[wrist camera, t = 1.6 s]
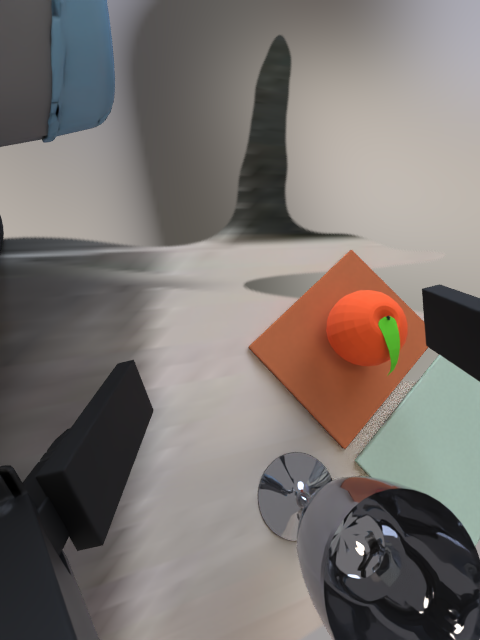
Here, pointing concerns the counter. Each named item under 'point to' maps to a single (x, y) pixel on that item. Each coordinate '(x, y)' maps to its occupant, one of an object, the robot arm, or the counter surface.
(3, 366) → the counter surface
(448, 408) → the glass mat
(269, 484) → the wine glass
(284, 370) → the fruit mat
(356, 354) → the clementine
